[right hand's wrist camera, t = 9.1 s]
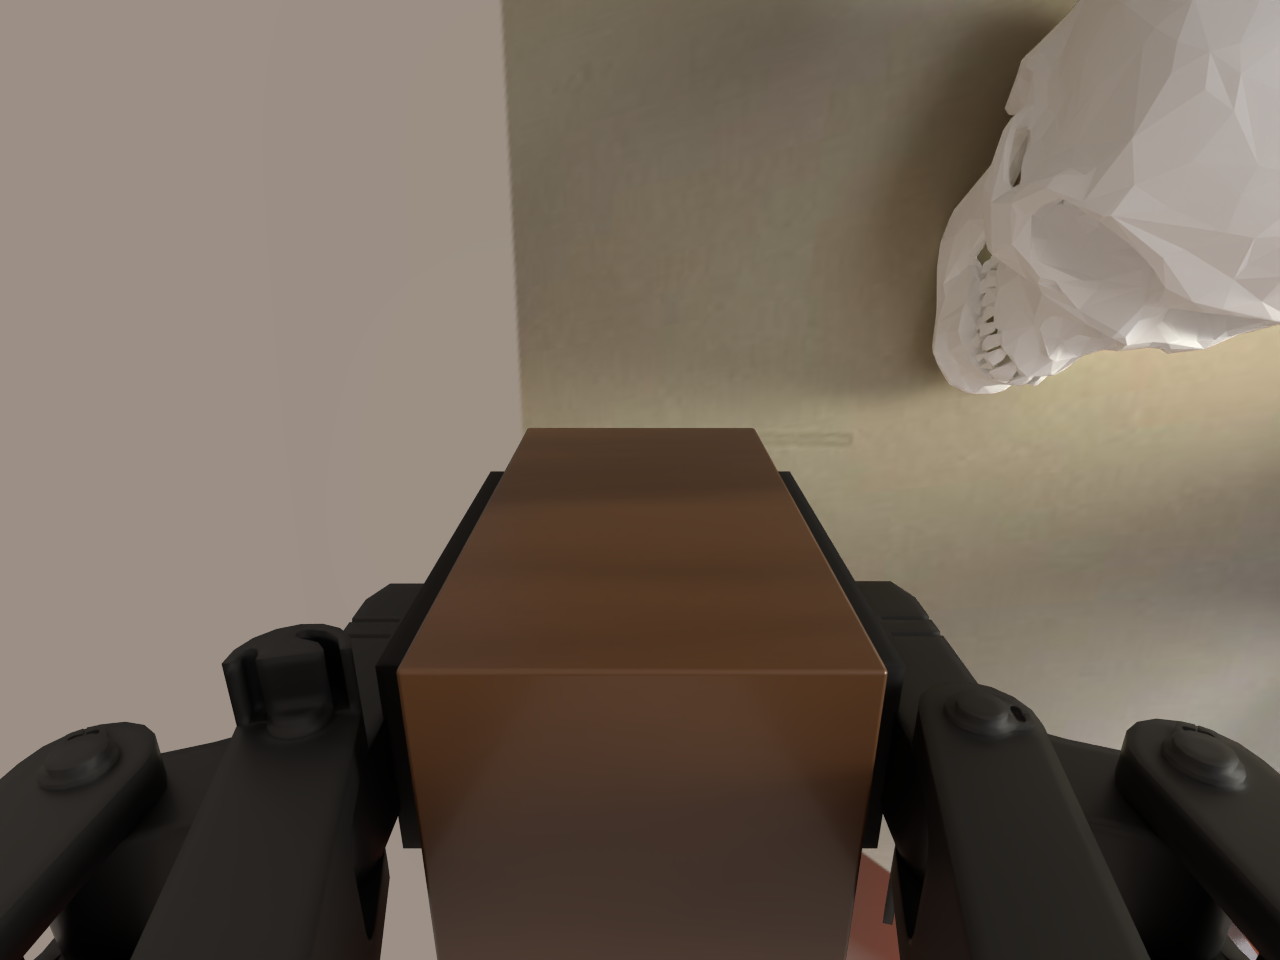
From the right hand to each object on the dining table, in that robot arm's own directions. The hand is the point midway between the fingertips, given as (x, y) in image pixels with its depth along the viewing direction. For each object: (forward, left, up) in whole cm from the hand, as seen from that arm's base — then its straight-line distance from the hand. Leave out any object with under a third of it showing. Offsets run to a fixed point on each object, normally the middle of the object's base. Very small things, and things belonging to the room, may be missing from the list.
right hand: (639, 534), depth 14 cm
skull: (-18, +14, -25) cm, 34 cm away
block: (0, 0, 0) cm, 0 cm away
